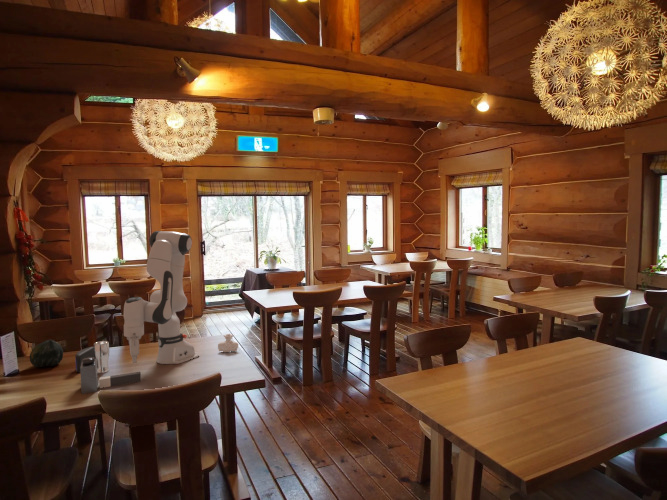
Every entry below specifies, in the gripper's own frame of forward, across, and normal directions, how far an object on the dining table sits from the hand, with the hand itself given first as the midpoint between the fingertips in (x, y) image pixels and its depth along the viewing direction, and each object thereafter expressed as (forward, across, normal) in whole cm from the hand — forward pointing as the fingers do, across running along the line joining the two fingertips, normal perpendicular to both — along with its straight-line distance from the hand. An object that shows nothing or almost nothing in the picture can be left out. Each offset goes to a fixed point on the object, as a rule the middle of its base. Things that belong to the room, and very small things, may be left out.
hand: (134, 360), depth 206 cm
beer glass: (+11, +24, +14) cm, 30 cm away
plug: (+11, +1, +6) cm, 12 cm away
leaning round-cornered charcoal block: (+11, +34, +22) cm, 42 cm away
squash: (+12, +48, +41) cm, 64 cm away
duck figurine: (+9, +27, -51) cm, 59 cm away
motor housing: (+11, +1, +19) cm, 22 cm away
